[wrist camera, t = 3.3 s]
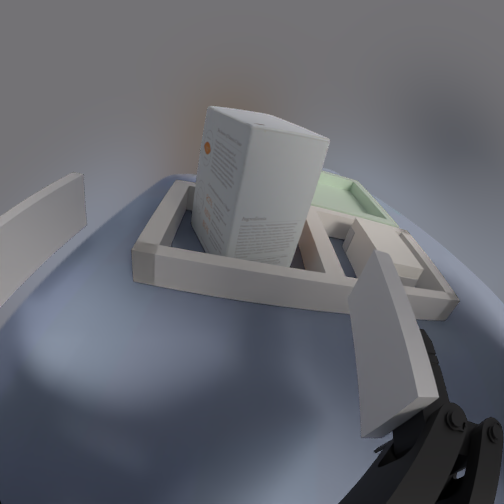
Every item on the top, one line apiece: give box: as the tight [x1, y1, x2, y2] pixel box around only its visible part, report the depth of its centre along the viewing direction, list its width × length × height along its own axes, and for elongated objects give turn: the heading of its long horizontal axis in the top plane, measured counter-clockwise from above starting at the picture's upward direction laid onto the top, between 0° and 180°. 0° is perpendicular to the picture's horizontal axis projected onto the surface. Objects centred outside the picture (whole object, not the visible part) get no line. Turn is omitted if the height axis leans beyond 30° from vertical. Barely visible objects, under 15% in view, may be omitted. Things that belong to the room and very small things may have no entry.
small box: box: [191, 106, 330, 267], centre depth 20 cm, size 8×6×10 cm
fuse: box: [342, 217, 424, 287], centre depth 23 cm, size 5×7×4 cm, turn 0°
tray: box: [311, 171, 399, 228], centre depth 35 cm, size 13×15×2 cm
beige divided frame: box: [131, 180, 460, 321], centre depth 22 cm, size 26×12×3 cm, turn 90°
